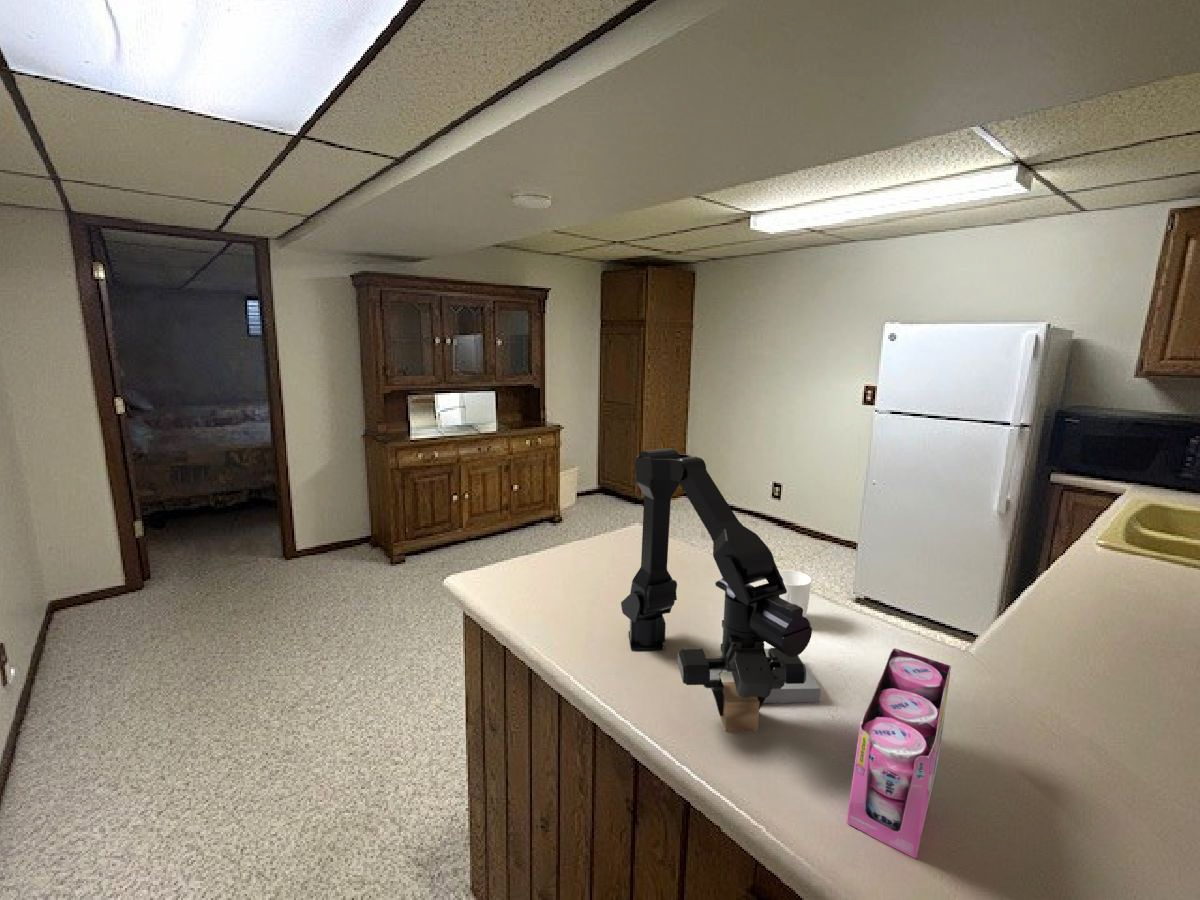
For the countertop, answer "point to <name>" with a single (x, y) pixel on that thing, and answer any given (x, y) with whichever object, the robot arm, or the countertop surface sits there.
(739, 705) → the walnut cube
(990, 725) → the countertop surface
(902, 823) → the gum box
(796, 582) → the white cup
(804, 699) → the slate tile
